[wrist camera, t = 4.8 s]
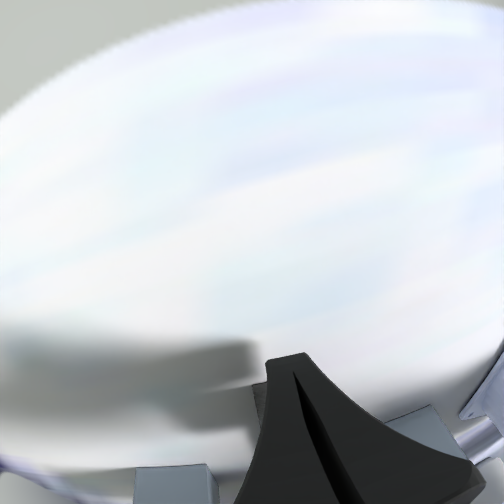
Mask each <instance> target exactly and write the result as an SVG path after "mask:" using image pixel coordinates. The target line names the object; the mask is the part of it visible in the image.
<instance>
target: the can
mask: <svg viewBox="0 0 504 504" xmlns="http://www.w3.org/2000/svg"><path fill="white" fill-rule="evenodd" d="M476 468H477V469H478V470H479V471H480V473H481V474H482V476H483V477H484V479H485V481H486V482H487V483H486V486H485V488H484V490H483V491H482V492H481V493H480V494H479V495H478V496H477V497H476V498H475V499H474V500H473V501H472V502H471V503H470V504H502V503H503V502H504V463H503V462H502V460H501V459H500V458H499V457H498V458H491V457H490V458H487V459H486V460H484V461H482V462H481V463H479V464H478V465H476Z"/></svg>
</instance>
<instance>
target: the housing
mask: <svg viewBox="0 0 504 504" xmlns="http://www.w3.org/2000/svg"><path fill="white" fill-rule="evenodd" d="M384 424H385V425H387V426H389V427H390V428H392V429H394V430H395V431H397V432H399V433H401V434H403V435H405V436H407V437H409V438H411V439H413V440H415V441H417V442H419V443H421V444H423V445H425V446H428V447H430V448H433V449H435V450H438V451H440V452H443V453H446V454H449V455H452V456H456V457H459V458H463V459H466V460H468V459H467V457H466V456H465V454H464V452H463V451H462V449H461V448H460V446H459V445H458V443H457V442H456V440H455V439H454V437H453V436H452V434H451V433H450V432H449V430H448V429H447V427H446V426H445V424H444V423H443V421H442V420H441V418H440V417H439V415H438V414H437V413H436V411H435V410H434V408H433V407H432V405H429V406H427V407H424V408H422V409H420V410H417V411H415V412H413V413H410V414H408V415H405V416H403V417H400V418H397V419H395V420H392V421H389V422H387V423H384ZM133 504H220V499H219V488H218V485H217V483H216V481H215V479H214V478H213V476H212V474H211V472H210V470H209V468H208V466H207V465H206V464H201V465H190V466H175V467H151V468H136V476H135V486H134V497H133Z"/></svg>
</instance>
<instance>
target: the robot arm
mask: <svg viewBox="0 0 504 504" xmlns="http://www.w3.org/2000/svg"><path fill="white" fill-rule="evenodd" d="M265 366H266V373H267V393H266V402H265V410H264V416H263V421H262V426H261V431H260V435H259V439H258V443H257V446H256V449H255V453H254V456H253V459H252V462H251V465H250V467H249V470H248V473H247V475H246V478H245V480H244V483H243V485H242V487H241V489H240V491H239V493H238V496H237V498H236V500H235V502H234V504H470V503H471V502H472V501H473V500H474V499H475V498H476V497H477V496H478V495H479V494H480V493H481V492H482V491H483V490H484V488H485V486H486V483H487V482H486V481H485V479H484V477H483V476H482V474H481V473H480V471H479V470H478V469H477V468H476V466H475V465H474V464H473V463H472V462H471V461H470V460H466V459H463V458H459V457H456V456H452V455H449V454H446V453H443V452H440V451H438V450H435V449H433V448H430V447H428V446H425V445H423V444H421V443H419V442H417V441H415V440H413V439H411V438H409V437H407V436H405V435H403V434H401V433H399V432H397V431H395V430H394V429H392V428H390V427H389V426H387V425H385V424H384V423H382V422H381V421H379V420H378V419H376V418H375V417H373V416H372V415H371V414H369V413H368V412H366V411H365V410H364V409H362V408H361V407H360V406H359V405H357V404H356V403H355V402H354V401H353V400H351V399H350V398H349V397H348V396H347V395H346V394H344V393H343V392H342V391H341V390H340V389H339V388H338V387H337V386H336V385H335V384H334V383H333V382H332V381H331V380H330V379H329V378H328V377H327V376H326V375H325V374H324V373H323V372H322V371H321V370H320V369H319V368H318V367H317V365H316V364H315V363H314V362H313V361H312V360H311V358H310V357H309V356H308V354H306V353H304V352H303V353H299V354H294V355H290V356H285V357H280V358H275V359H270V360H268V361H267V362H266V363H265ZM485 415H487V416H488V417H489V418H490V420H491V421H492V422H493V424H494V425H495V426H496V428H497V429H498V430H499V431H500V433H501V434H502V435H503V437H504V352H503V353H502V355H501V356H500V358H499V360H498V361H497V363H496V364H495V366H494V367H493V369H492V370H491V372H490V373H489V375H488V376H487V378H486V379H485V381H484V382H483V383H482V385H481V386H480V388H479V389H478V390H477V392H476V393H475V395H474V396H473V397H472V399H471V400H470V401H469V402H468V404H467V405H466V406H465V408H464V409H463V410H462V411H461V413H460V414H459V418H460V419H461V420H467V419H472V418H476V417H480V416H485ZM502 504H504V502H503V503H502Z"/></svg>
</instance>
